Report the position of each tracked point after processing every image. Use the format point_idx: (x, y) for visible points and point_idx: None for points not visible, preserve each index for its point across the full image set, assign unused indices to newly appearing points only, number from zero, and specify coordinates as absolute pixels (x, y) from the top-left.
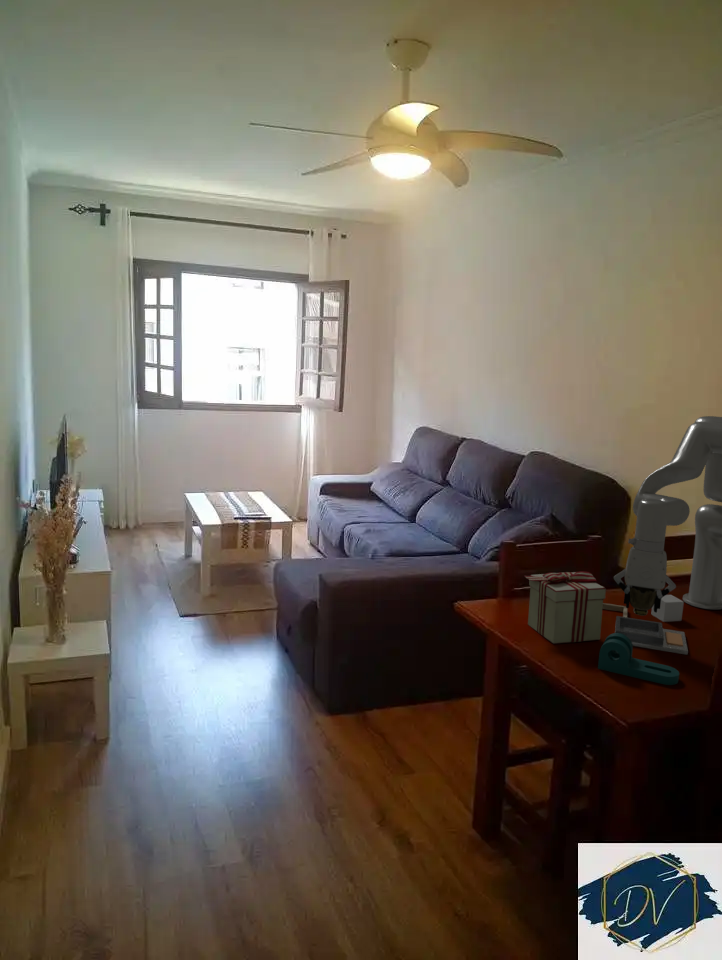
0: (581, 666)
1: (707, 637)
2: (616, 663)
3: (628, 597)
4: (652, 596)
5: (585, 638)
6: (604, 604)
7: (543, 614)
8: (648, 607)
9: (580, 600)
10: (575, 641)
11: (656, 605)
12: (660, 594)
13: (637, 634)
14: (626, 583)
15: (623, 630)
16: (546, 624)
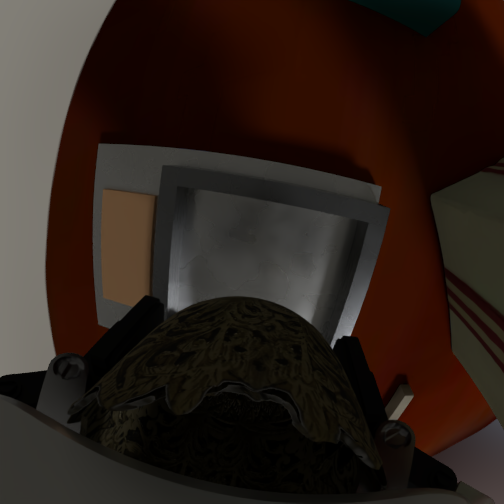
0: (468, 4)
1: (57, 312)
2: None
3: (368, 391)
4: (125, 361)
5: (479, 174)
6: None
7: None
8: (196, 303)
9: None
10: (498, 162)
11: (129, 320)
12: (57, 380)
13: (287, 184)
14: (459, 493)
15: (318, 298)
16: None
